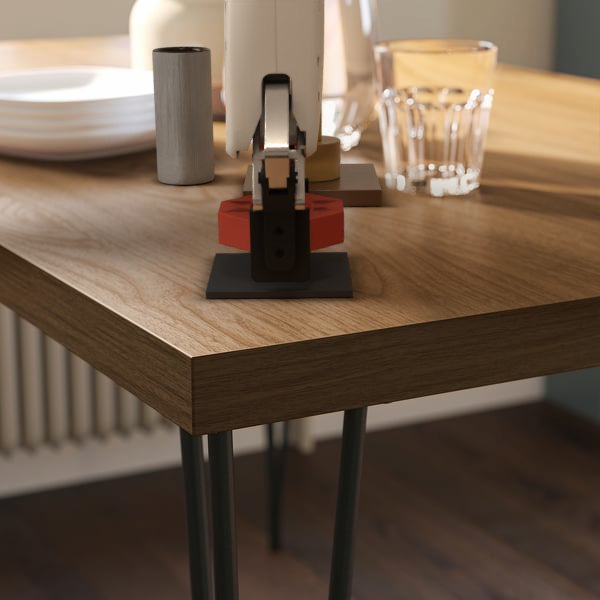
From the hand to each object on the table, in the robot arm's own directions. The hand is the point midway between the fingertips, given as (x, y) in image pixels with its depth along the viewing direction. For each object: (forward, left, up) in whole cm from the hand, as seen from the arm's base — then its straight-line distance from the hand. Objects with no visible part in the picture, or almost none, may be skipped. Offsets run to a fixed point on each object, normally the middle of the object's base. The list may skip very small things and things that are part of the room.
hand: (281, 259), depth 67 cm
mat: (0, 0, -1) cm, 1 cm away
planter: (-8, +28, -1) cm, 29 cm away
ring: (0, 0, +1) cm, 1 cm away
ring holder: (+2, +23, -1) cm, 23 cm away
